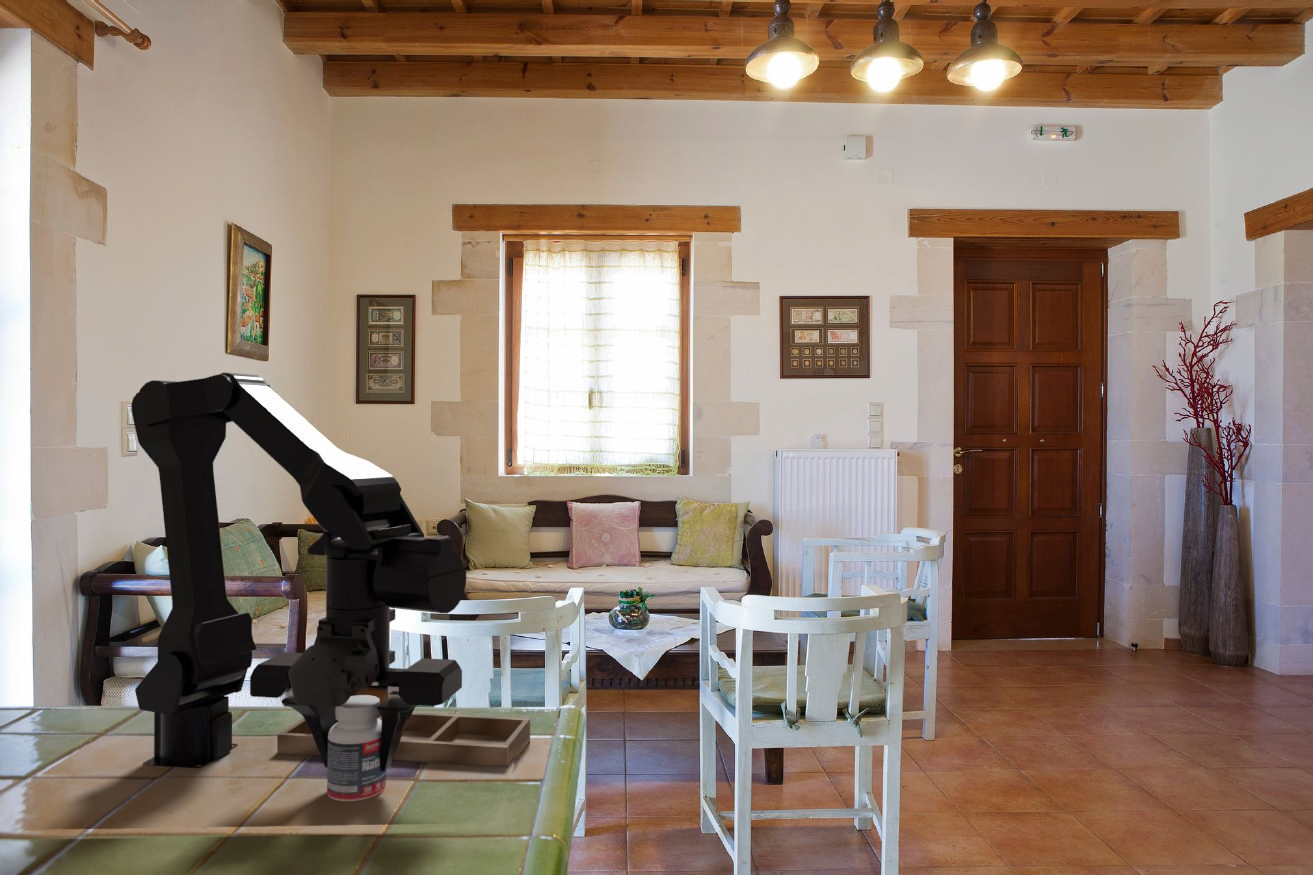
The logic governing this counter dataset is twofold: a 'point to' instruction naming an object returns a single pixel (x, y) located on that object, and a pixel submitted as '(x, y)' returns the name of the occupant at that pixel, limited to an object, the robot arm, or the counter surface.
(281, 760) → the counter surface
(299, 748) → the bay tray
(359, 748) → the pill bottle
